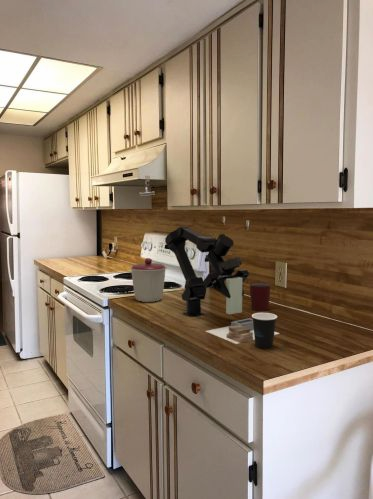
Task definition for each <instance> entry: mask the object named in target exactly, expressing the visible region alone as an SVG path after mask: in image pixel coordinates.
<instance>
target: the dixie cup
mask: <svg viewBox="0 0 373 499" xmlns="http://www.w3.org/2000/svg"><path fill="white" fill-rule="evenodd" d="M251 317H252V319H253V327H254V337H255V340H254V346H255V347H256V348H258V349H261V350H264V349H265V350H269V349H272V348H273V346H274V341H275V340H274V338H275V335H274V332H276V331H275V330H276V324H277V323H276V322H277V318H278V315H276V314H274V313H269V312H255V313H253V314H252V315H251Z"/></svg>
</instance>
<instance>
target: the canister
mask: <svg viewBox="0 0 373 499" xmlns="http://www.w3.org/2000/svg"><path fill="white" fill-rule="evenodd" d="M152 262H153V260H152V258H149V257H146V258H145V259H144V263H143V262H142V263H136V264H134V265H132V266H131V267H130V268H129V269H130V270H131V271H130V272H131V278H132V279H131V280H132V286H133V292H134V293H133V294H134V298H135V299H136V301H138V302H140V301H142V302H141V303H155V301H156V302H159V301H161V300H162V298H163V295H164V290H165V289H164V288H165V279H166V270H167V266H166V265H164V264H162V263H157V262H156V263H152Z"/></svg>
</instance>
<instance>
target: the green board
mask: <svg viewBox="0 0 373 499" xmlns="http://www.w3.org/2000/svg"><path fill="white" fill-rule="evenodd" d="M225 283H226V284H225V285H226V287H227V289H228V291H229V293H230V296H231V297H230V298H228V297H226V296H225V303H226V304H225V313H226V315H233V314H234V315H235V314H240V313H242V312H243V296H242V278H240V277H237V278H229V279H226V281H225Z"/></svg>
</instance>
